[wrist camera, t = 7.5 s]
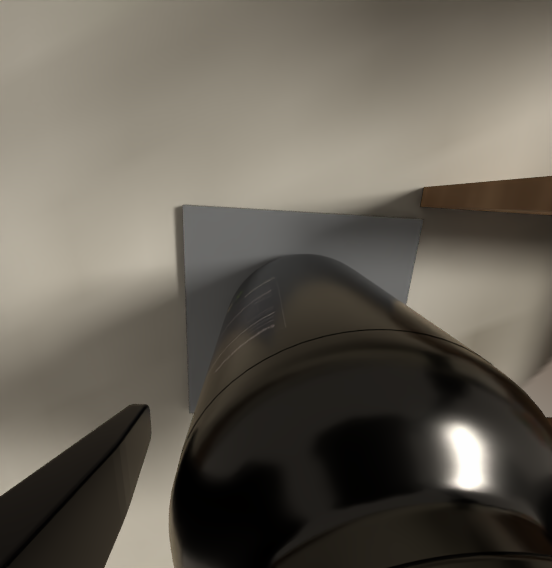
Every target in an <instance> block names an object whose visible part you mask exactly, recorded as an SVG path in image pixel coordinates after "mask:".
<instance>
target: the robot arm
mask: <svg viewBox="0 0 552 568" xmlns="http://www.w3.org/2000/svg"><path fill="white" fill-rule="evenodd" d="M150 439H151V420H150V409H149V406H148V405H146V404H132V405H129V406H128V407H126V408H125V409H123V410H122V411H120V412H119V413H118V414H116V415H115V416H113V417H112V418H111V419H109V420H108V421H106V422H105V423H103V424H102V425H101V426H99V427H98V428H96V429H95V430H94V431H92V432H91V433H89V434H88V435H86V436H85V437H84V438H82V439H81V440H79V441H78V442H77V443H75V444H74V445H72V446H71V447H70V448H68V449H67V450H65V451H64V452H62V453H61V454H60V455H58V456H57V457H55V458H54V459H53V460H51V461H50V462H48V463H47V464H45V465H44V466H43V467H41V468H40V469H38V470H37V471H36V472H34V473H33V474H31V475H30V476H28V477H27V478H26V479H24V480H23V481H21V482H20V483H19V484H17V485H16V486H14V487H13V488H11V489H10V490H9V491H7V492H6V493H4V494H3V495H2V496H0V568H104V567H105V565H106V562H107V560H108V558H109V555H110V553H111V551H112V548H113V546H114V543H115V541H116V539H117V536H118V534H119V532H120V529H121V527H122V524H123V522H124V519H125V517H126V514H127V512H128V509H129V506H130V503H131V500H132V497H133V493H134V490H135V487H136V484H137V481H138V478H139V474H140V471H141V468H142V465H143V462H144V459H145V456H146V452H147V449H148V446H149V443H150Z"/></svg>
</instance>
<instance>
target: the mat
mask: <svg viewBox="0 0 552 568" xmlns="http://www.w3.org/2000/svg"><path fill="white" fill-rule="evenodd" d="M422 224H423V219H411V218H395V217H378V216H362V215H346V214H329V213H313V212H296V211H280V210H263V209H247V208H230V207H214V206H198V205H183V233H184V263H185V294H186V324H187V354H188V385H189V413H194V412H195V408H196V405H197V402H198V399H199V396H200V393H201V390H202V387H203V384H204V381H205V378H206V374H207V371H208V368H209V365H210V362H211V359H212V356H213V353H214V350H215V347H216V343H217V340H218V337H219V334H220V331H221V328H222V325H223V322H224V319H225V316H226V313H227V310H228V308H229V305H230V303H231V300H232V298H233V296H234V295H235V293H236V291H237V290H238V288H239V287H240V285H241V284H242V283H243V282H244V281H245V280H246V279H247V278H248V277H249V276H250V275H251V274H252V273H253V272H254V271H255V270H257V269H258V268H260V267H261V266H263V265H265V264H267V263H268V262H270V261H273V260H275V259H278V258H281V257H284V256H289V255H295V254H316V255H322V256H326V257H329V258H332V259H335V260H337V261H340V262H342V263H344V264H346V265H347V266H349V267H351V268H352V269H354V270H355V271H357V272H358V273H360V274H361V275H363V276H364V277H366V278H367V279H369V280H370V281H371V282H373V283H374V284H376V285H377V286H379V287H380V288H382V289H383V290H385V291H386V292H388V293H389V294H390V295H392V296H393V297H395V298H396V299H398V300H399V301H401V302H402V303H404V304H405V305H406V302H407V297H408V293H409V288H410V283H411V278H412V273H413V268H414V263H415V258H416V253H417V248H418V244H419V239H420V234H421V229H422Z"/></svg>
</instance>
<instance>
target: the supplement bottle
mask: <svg viewBox="0 0 552 568" xmlns="http://www.w3.org/2000/svg"><path fill="white" fill-rule="evenodd" d="M169 538H170V545H171V552H172V559H173V564H174V568H552V426H551V425H550V423H549V422H548V420H547V419H546V417H545V416H544V414H543V413H542V411H541V410H540V409H539V407H538V406H537V405H536V404H535V403H534V402H533V400H532V399H531V398H530V397H529V396H528V395H527V394H526V393H525V392H524V391H523V390H522V389H521V388H520V387H519V386H518V385H517V384H516V383H515V382H513V381H512V380H511V379H510V378H509V377H507V376H506V375H505V374H504V373H502V372H501V371H500V370H498V369H497V368H495V367H494V366H493V365H492V364H491V363H489V362H488V361H486V360H485V359H484V358H482V357H481V356H479V355H478V354H476V353H475V352H474V351H472V350H471V349H469V348H468V347H466V346H465V345H463V344H462V343H460V342H459V341H458V340H456V339H455V338H453V337H452V336H450V335H449V334H447V333H446V332H444V331H443V330H442V329H440V328H439V327H437V326H436V325H434V324H433V323H431V322H430V321H428V320H427V319H425V318H424V317H423V316H421V315H420V314H418V313H417V312H415V311H414V310H412V309H411V308H409V307H408V306H407V305H405V304H404V303H402V302H401V301H399V300H398V299H396V298H395V297H393V296H392V295H390V294H389V293H388V292H386V291H385V290H383V289H382V288H380V287H379V286H377V285H376V284H374V283H373V282H371V281H370V280H369V279H367V278H366V277H364V276H363V275H361V274H360V273H358V272H357V271H355V270H354V269H352V268H351V267H349V266H347V265H346V264H344V263H342V262H340V261H337V260H335V259H332V258H329V257H326V256H322V255H316V254H295V255H289V256H284V257H281V258H278V259H275V260H273V261H270V262H268V263H267V264H265V265H263V266H261V267H260V268H258V269H257V270H255V271H254V272H253V273H252V274H251V275H250V276H249V277H248V278H247V279H246V280H245V281H244V282H243V283H242V284H241V285H240V287H239V288H238V290H237V291H236V293H235V295H234V296H233V298H232V300H231V303H230V305H229V308H228V310H227V313H226V316H225V319H224V322H223V325H222V328H221V331H220V334H219V337H218V340H217V343H216V347H215V350H214V353H213V356H212V359H211V362H210V365H209V368H208V371H207V374H206V378H205V381H204V384H203V387H202V390H201V393H200V396H199V399H198V402H197V405H196V408H195V412H194V415H193V418H192V421H191V424H190V427H189V430H188V433H187V436H186V440H185V443H184V446H183V449H182V453H181V456H180V460H179V464H178V468H177V472H176V475H175V479H174V483H173V487H172V492H171V499H170V506H169Z"/></svg>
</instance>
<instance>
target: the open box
mask: <svg viewBox="0 0 552 568" xmlns="http://www.w3.org/2000/svg"><path fill="white" fill-rule="evenodd" d="M420 207H432V208H448V209H463V210H479V211H494V212H510V213H525V214H541V215H552V176H546V177H534V178H523V179H512V180H500V181H489V182H478V183H466V184H455V185H443V186H432V187H424V190H423V195H422V200H421V205H420ZM546 419H547V420H548V422H549V423H550V425H551V426H552V418H548V417H547V418H546Z"/></svg>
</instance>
